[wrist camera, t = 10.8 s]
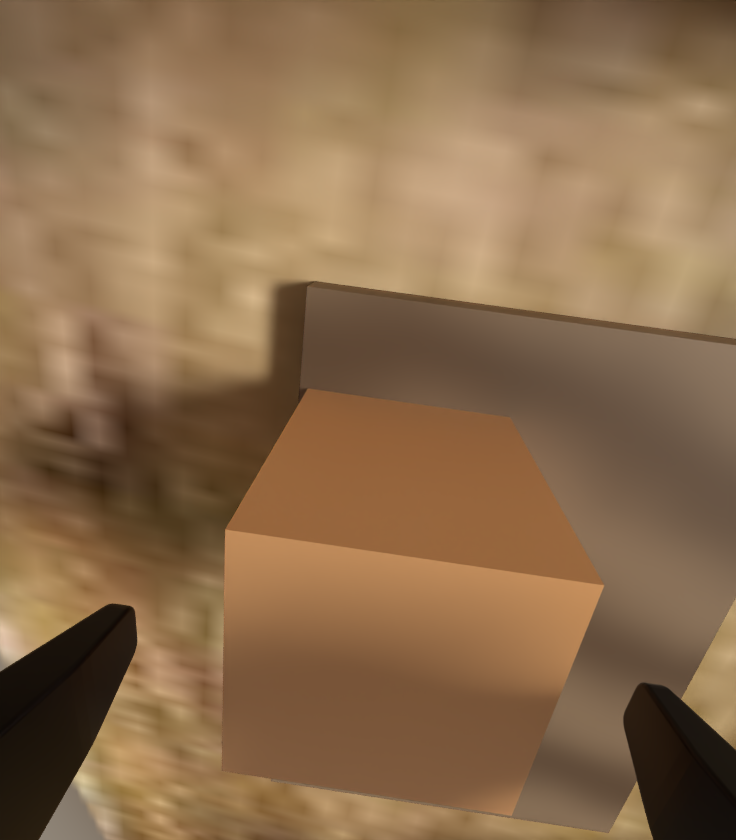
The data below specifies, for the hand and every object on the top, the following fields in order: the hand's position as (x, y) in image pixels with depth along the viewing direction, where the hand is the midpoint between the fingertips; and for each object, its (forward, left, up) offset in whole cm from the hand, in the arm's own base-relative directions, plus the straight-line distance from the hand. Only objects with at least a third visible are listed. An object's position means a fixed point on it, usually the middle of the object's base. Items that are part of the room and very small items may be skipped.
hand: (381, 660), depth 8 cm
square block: (0, 0, -6) cm, 6 cm away
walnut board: (-5, -4, -7) cm, 10 cm away
